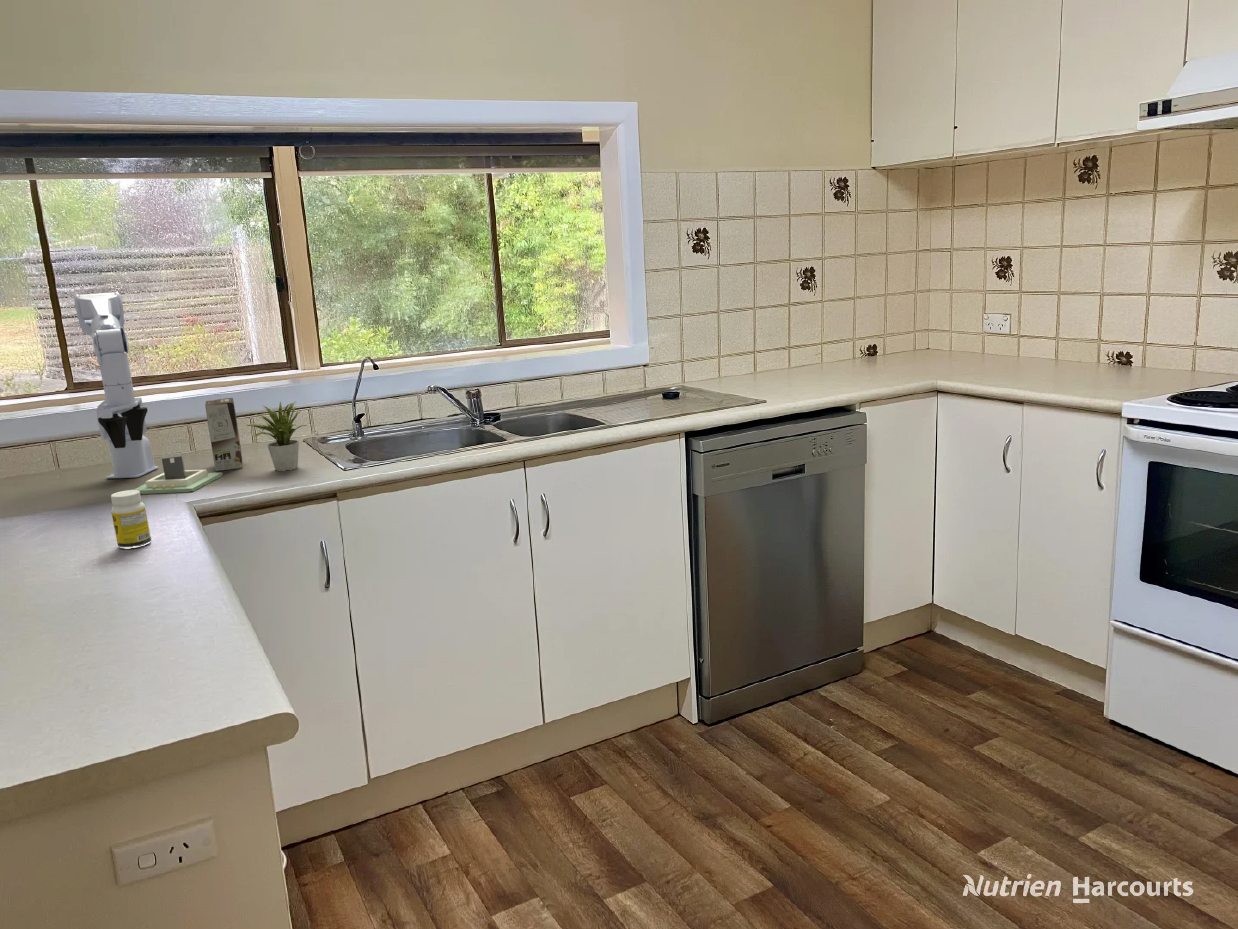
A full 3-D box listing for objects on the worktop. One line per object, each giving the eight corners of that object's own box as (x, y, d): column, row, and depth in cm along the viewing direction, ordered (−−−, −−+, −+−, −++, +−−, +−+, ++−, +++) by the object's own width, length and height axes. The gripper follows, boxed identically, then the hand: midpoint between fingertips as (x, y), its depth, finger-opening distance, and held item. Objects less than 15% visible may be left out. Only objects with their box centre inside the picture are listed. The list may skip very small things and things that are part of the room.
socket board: (164, 478, 221) (163, 469, 220) (222, 475, 220) (221, 466, 220) (131, 494, 207) (129, 484, 207) (193, 491, 207) (191, 482, 206)
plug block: (166, 480, 215) (162, 455, 213) (186, 478, 216) (181, 452, 215) (166, 484, 211) (161, 458, 210) (185, 482, 212) (181, 456, 211)
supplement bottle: (120, 543, 172) (110, 491, 169) (153, 538, 174) (144, 487, 171) (116, 552, 167) (106, 499, 164) (150, 547, 169) (140, 494, 166)
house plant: (272, 461, 233) (263, 395, 229) (326, 459, 231) (317, 393, 227) (244, 475, 219) (234, 406, 215) (302, 474, 217) (292, 404, 214)
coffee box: (243, 468, 227) (233, 402, 223) (214, 471, 225) (204, 405, 221) (243, 460, 235) (233, 396, 231) (215, 464, 233) (205, 399, 229)
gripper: (116, 379, 215) (126, 437, 218) (81, 390, 200) (93, 452, 204) (147, 378, 215) (157, 436, 218) (115, 388, 200) (126, 450, 204)
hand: (128, 443), depth 211 cm, fingers open, 7 cm apart
